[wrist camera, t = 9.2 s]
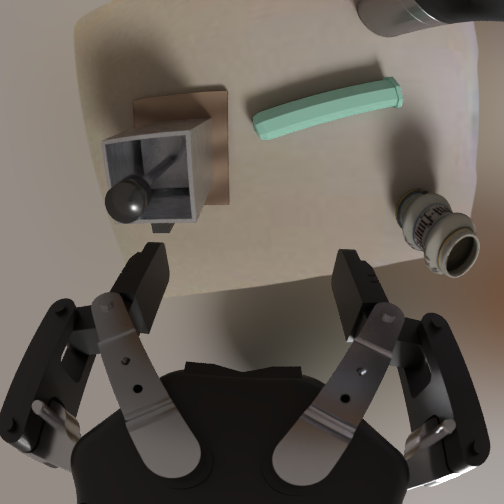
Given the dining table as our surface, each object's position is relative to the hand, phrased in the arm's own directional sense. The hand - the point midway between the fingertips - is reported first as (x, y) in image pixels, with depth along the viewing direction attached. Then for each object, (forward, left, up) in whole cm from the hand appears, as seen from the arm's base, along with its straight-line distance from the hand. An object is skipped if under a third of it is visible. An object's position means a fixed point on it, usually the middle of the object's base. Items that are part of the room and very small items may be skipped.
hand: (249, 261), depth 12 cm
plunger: (+2, -12, -28) cm, 31 cm away
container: (-6, +12, -36) cm, 39 cm away
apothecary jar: (+12, +34, -36) cm, 51 cm away
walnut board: (+2, -12, -36) cm, 38 cm away
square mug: (+3, -12, -35) cm, 37 cm away
